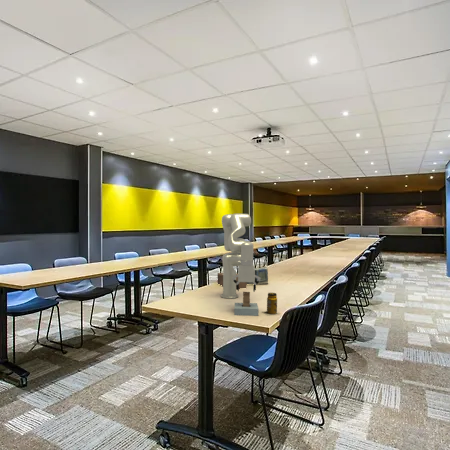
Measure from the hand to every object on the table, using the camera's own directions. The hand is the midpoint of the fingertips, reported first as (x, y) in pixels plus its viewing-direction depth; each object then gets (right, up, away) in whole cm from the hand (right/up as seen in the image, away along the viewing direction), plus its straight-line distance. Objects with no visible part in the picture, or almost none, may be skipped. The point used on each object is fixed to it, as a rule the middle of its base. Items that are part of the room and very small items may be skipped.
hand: (246, 291), depth 204 cm
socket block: (0, -13, -1) cm, 13 cm away
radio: (+14, -12, +91) cm, 93 cm away
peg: (0, -13, -1) cm, 13 cm away
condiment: (+15, -13, -2) cm, 20 cm away
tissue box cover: (-7, -12, +81) cm, 82 cm away
